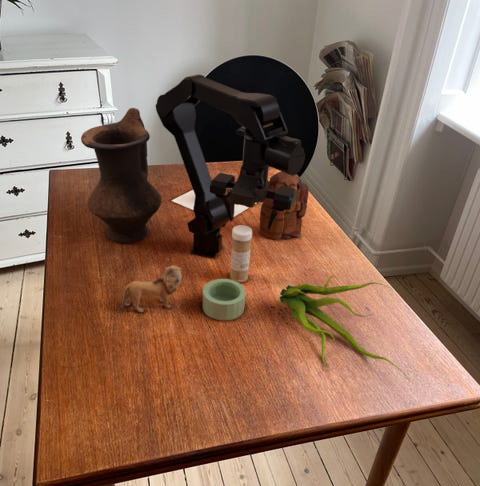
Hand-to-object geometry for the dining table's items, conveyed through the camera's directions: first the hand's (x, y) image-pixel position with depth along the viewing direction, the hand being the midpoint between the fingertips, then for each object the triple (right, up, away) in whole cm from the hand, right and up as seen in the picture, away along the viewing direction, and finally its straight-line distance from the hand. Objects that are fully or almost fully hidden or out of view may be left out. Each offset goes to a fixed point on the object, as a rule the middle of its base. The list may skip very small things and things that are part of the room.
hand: (250, 225), depth 115 cm
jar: (-6, -19, -3) cm, 20 cm away
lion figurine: (-22, -19, -4) cm, 29 cm away
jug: (-32, +2, +19) cm, 37 cm away
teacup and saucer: (-9, +15, +37) cm, 41 cm away
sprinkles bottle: (-3, -12, +6) cm, 14 cm away
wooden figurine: (+9, +2, +24) cm, 25 cm away
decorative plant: (+18, -26, -9) cm, 33 cm away
